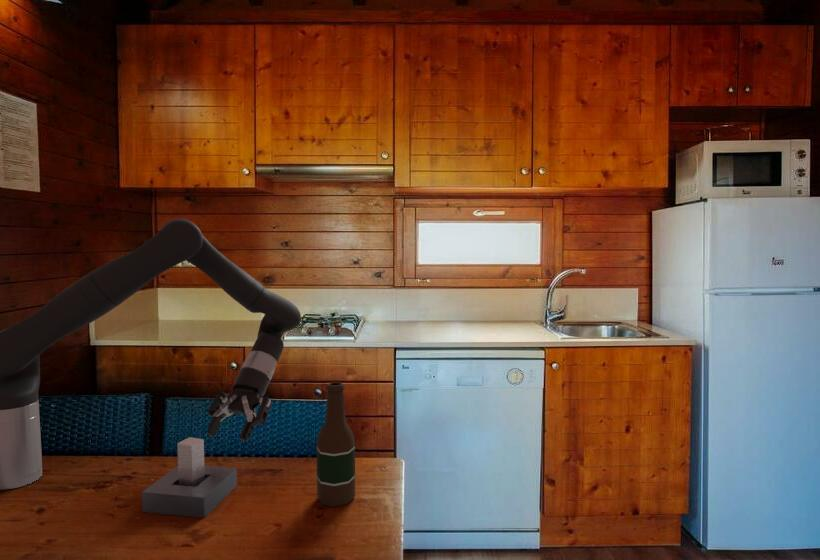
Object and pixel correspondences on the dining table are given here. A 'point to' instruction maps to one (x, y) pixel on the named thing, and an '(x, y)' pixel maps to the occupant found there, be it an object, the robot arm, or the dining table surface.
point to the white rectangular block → (191, 462)
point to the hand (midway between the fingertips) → (226, 437)
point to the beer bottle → (335, 452)
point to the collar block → (189, 493)
